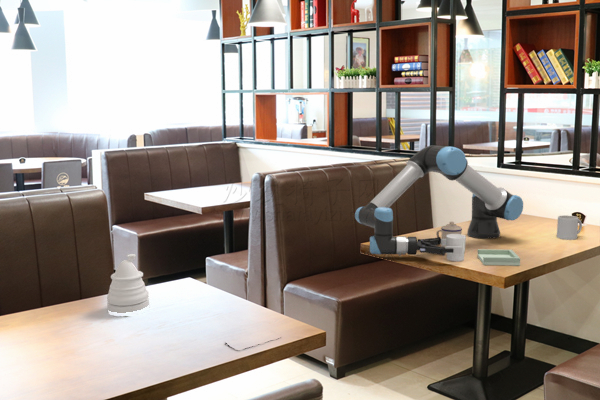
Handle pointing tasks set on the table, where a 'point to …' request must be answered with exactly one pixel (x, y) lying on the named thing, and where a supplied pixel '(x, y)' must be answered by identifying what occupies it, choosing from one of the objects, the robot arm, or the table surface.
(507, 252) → the green tray
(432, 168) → the robot arm
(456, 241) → the white cup
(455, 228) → the teacup with lid
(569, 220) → the mug
